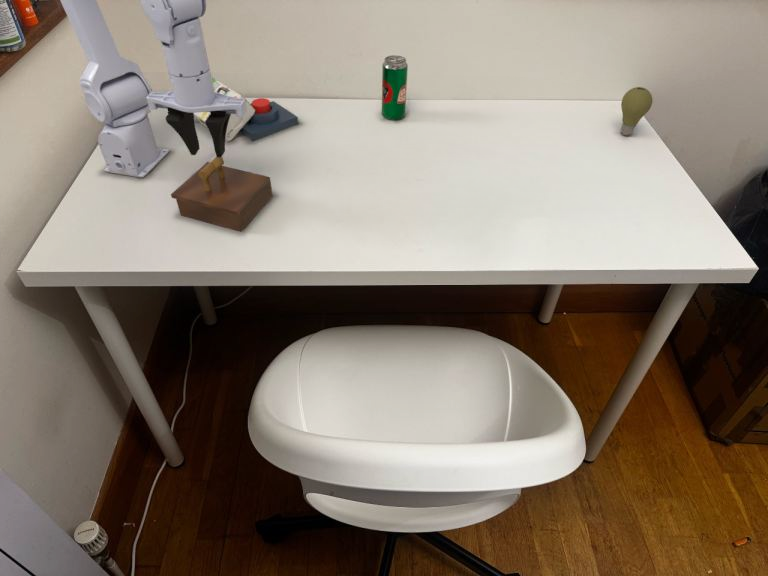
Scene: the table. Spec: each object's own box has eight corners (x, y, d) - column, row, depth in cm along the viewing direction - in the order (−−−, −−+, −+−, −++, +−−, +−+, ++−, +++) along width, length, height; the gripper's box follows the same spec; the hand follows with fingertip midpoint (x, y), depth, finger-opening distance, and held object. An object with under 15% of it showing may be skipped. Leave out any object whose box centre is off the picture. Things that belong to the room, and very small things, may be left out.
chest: (180, 215, 94) (175, 199, 92) (215, 182, 101) (212, 166, 99) (241, 231, 92) (237, 215, 89) (272, 196, 99) (270, 180, 96)
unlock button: (259, 116, 113) (257, 108, 112) (249, 109, 115) (248, 101, 113) (274, 110, 114) (273, 102, 113) (264, 104, 116) (263, 96, 115)
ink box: (209, 74, 114) (242, 94, 108) (224, 91, 118) (257, 111, 112) (182, 106, 113) (214, 128, 107) (198, 121, 117) (229, 143, 111)
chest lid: (171, 197, 92) (164, 173, 89) (208, 165, 99) (202, 141, 96) (237, 215, 89) (232, 191, 86) (270, 180, 96) (267, 156, 93)
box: (252, 141, 112) (249, 125, 109) (229, 124, 117) (226, 108, 114) (298, 124, 117) (296, 108, 115) (274, 108, 122) (272, 92, 119)
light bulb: (616, 141, 114) (632, 94, 107) (607, 128, 118) (622, 81, 111) (643, 141, 114) (661, 94, 107) (633, 128, 118) (650, 82, 111)
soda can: (401, 122, 118) (404, 66, 110) (378, 119, 119) (379, 62, 111) (407, 111, 122) (410, 56, 113) (385, 108, 123) (386, 52, 114)
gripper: (246, 61, 83) (259, 143, 92) (151, 54, 84) (174, 136, 93) (231, 81, 78) (246, 167, 87) (130, 74, 79) (156, 159, 88)
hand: (208, 152), depth 90 cm, fingers open, 4 cm apart
